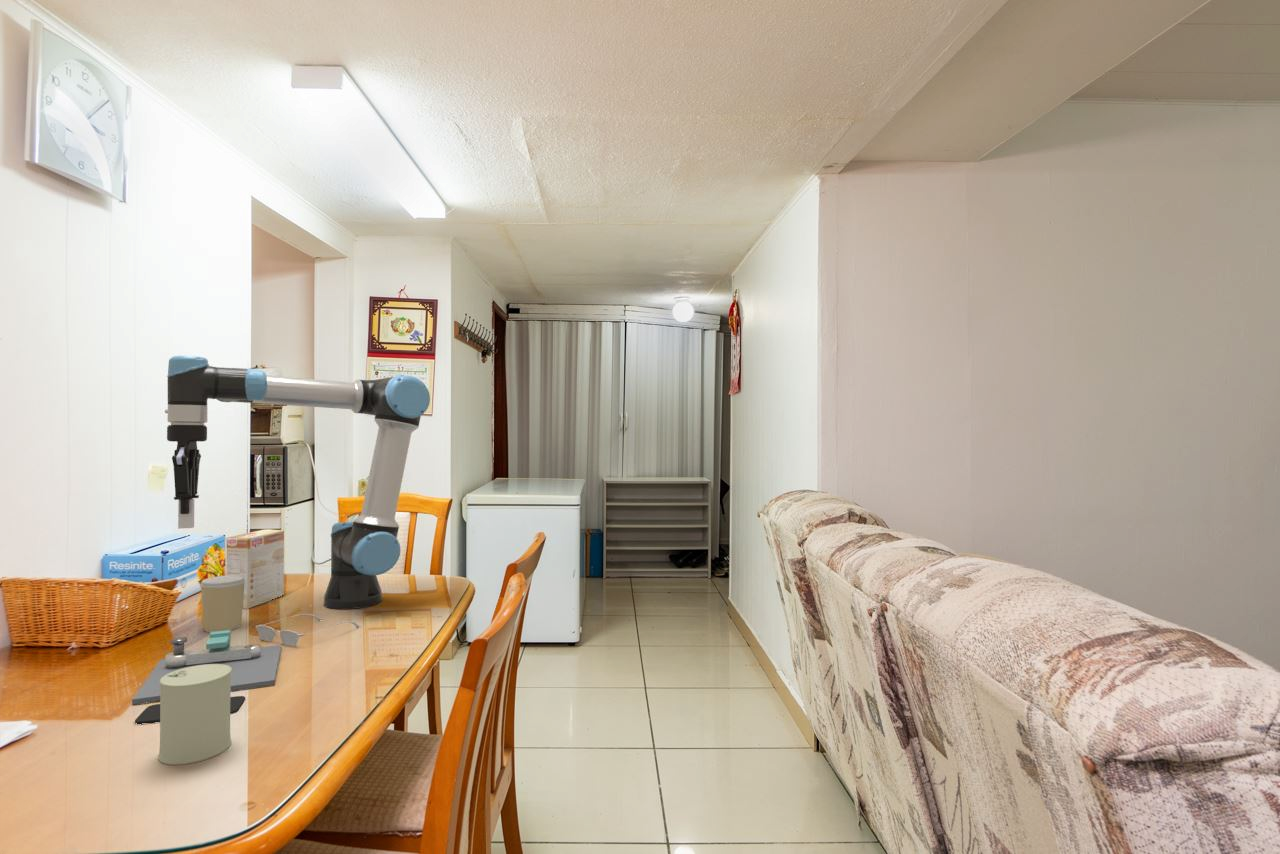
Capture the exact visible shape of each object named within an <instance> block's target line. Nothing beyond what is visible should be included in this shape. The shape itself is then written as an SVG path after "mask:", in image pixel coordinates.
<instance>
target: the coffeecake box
mask: <svg viewBox="0 0 1280 854" xmlns="http://www.w3.org/2000/svg"><path fill="white" fill-rule="evenodd" d="M225 539H226V550H225V551H226V553H225V554H226V555H225V556H226V557H225V558H226V559H225V560H226V561H225V563H226V565H225V567H226V568H225V569H226V571H225V572H226V573H225V576H227V575H239V576H243V577H244V579H245V583H244V597H243V608H242V610H248V609H251V608H254V607H257V606H259V605H262V604H265V603H267V602H271V601H273V600H276V599H278V598H277V597H279V598H281V597H283V596H282V595H284V594H285V593H284V591H285V590H284V589H285V587H284V580H285V579H284V578H285V577H284V575H285V574H284V573H285V571H284V570H285V567H284V565H285V562H284V561H285V559H284V558H285V530H284V529H272V528H271V529H269V528H268V529H260V530H255V531H251V532H245V533H241V534H236V535H232V536H228V537H226V538H225ZM280 596H281V597H280ZM275 598H276V599H275ZM272 599H273V600H272Z"/></svg>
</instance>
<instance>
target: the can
mask: <svg viewBox="0 0 1280 854" xmlns="http://www.w3.org/2000/svg"><path fill="white" fill-rule="evenodd" d="M231 671H232V669H231V667H230V666H228V665H224V664H204V665H197V666H191V667H187V668H183V669H179V670H176V671H173V672H171V673H168V674H166V675H165V676H163V677H162V678H161V679H160V701H159V702H160V703H159V704H160V722H159V727H160V728H159V753H158V756H157V758H158V761H159V762H160V763H161V764H162V763H163V764H165V765H170V766H171V765H172V766H179V765H181V766H182V765H190V764H194V763H198V762H201V761H206V760H207V759H208V760H209V759H211V758H214V757H216V756H217V755H220V754H222V753H223V752H225V751H226V750H228V748H229V747H230V746H231V744H232V739H231V714H230V697H231V692H232V691H231Z"/></svg>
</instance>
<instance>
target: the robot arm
mask: <svg viewBox="0 0 1280 854" xmlns="http://www.w3.org/2000/svg"><path fill="white" fill-rule="evenodd" d="M166 377H167V408H166V409H165V410H164V413H165V414H167V422H168V423H170V424H168V425H167V426H166V440H167V441H168V442H176V443H177V444H176V449H174V455H172V457H171V460H172V464H173V476H174V478H173V479H174V493H175V494H174V497H173V500H175V501H177V500H178V503H177V504H178V506H177V507H178V508H177V509H178V516H177V518H178V522H177V529H193V528H195V499H199V498H200V497H199V496H200V495H198V489H199V488H198V485H199V473H200V463H201V458H202V455H201V453H200V449H198V445H197V444H198V442H206V441H207V440H208V427H207V425H205V424H206V423H208V399H209V400H211V399H212V400H217V401H218V402H222V403H232V402H233V403H245V404H247V403H248V404H249V403H250V404H265V405H267V404H268V405H281V406H295V407H309V408H310V407H311V408H312V407H313V408H327V409H342V410H351V411H352V412H353V413H354V414H365V415H368V416H369V415H371V416H374V422H375V423H376V425H377V426H378V430H377V434H376V439H375V445H374V450H373V455H372V459H371V465H370V468H369V469H370V470H369V473H368V478H367V483H366V489H365V493H364V498H363V503H362V508H361V513H360V515H359V516H357V517H356V518H354V519H353V521H345V522H336V523H333V524H332V525H331V526H332V527H331V533H330V539H331V540H330V550H331V551H330V552H331V554H330V557H331V558H330V567H331V568H330V574H331V575H330V579H329V582H328V584H327V588H326V589H325V593H324V597H323V606H324V607H326V608H330V609H335V610H336V609H337V610H347V609H359V608H365V607H371V606H374V605H376V604H379V603H380V602H382V601H383V591H382V588H381V585H380V582H379V580H378V577H377V576H379V575H383V574H385V573H387V572H389V571H390V570H392V568H394V566H395V565H397V562H398V561H399V559H400V557H401V552H402V551H401V544H400V542H399V539H398V534H399V529H400V524H398V522H397V520H396V513H397V508H398V504H399V498H400V497H399V496H400V493H401V488H402V482H403V477H404V471H405V467H406V461H407V458H408V452H409V447H410V443H411V442H410V441H411V437H412V433H413V432H415V431H416V430H417V429H419V428H420V427H419V426H420V421H421V418H422V415H424V413H425V412H426V411H427V410H428V409H429V407H430V402H431V397H430V396H431V395H430V392H429V389H428V387H427V386H426V384H425V382H423V381H422V380H420V379H419V378H418V377H415V376H413V375H404V374H401V375H396V376H392V377H383V378H380V379H371V380H370V379H368V380H367V379H355V380H354V381H353V382H349V381H338V380H325V379H324V380H323V379H314V378H300V377H291V376H281V375H278V376H277V375H267V374H266V372H265V371H264V370H262V369H254V368H249V367H248V368H239V367H221V366H219V367H217V366H212V365H210V364H209V361H208V358H206V357H203V356H196V355H195V356H194V355H174V356H172V357H170V358H169V359H168V367H167V375H166Z"/></svg>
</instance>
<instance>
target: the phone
mask: <svg viewBox="0 0 1280 854" xmlns="http://www.w3.org/2000/svg"><path fill="white" fill-rule="evenodd" d="M245 701H246V696H244V695H236V696H230V715H231V714H236V713H237V712H239V710H240V708H241V707H242V705H243V704H244V702H245ZM155 722H159V723H160V703H156V704H151V705H149V706H147V707H145V709H144V710H143V711H142V712H141V713H140V714H139V715H138V716H137V718H135V720H134V724H135V723H137V724H141V725H143V724H142V723H150V724H156V723H155Z"/></svg>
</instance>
